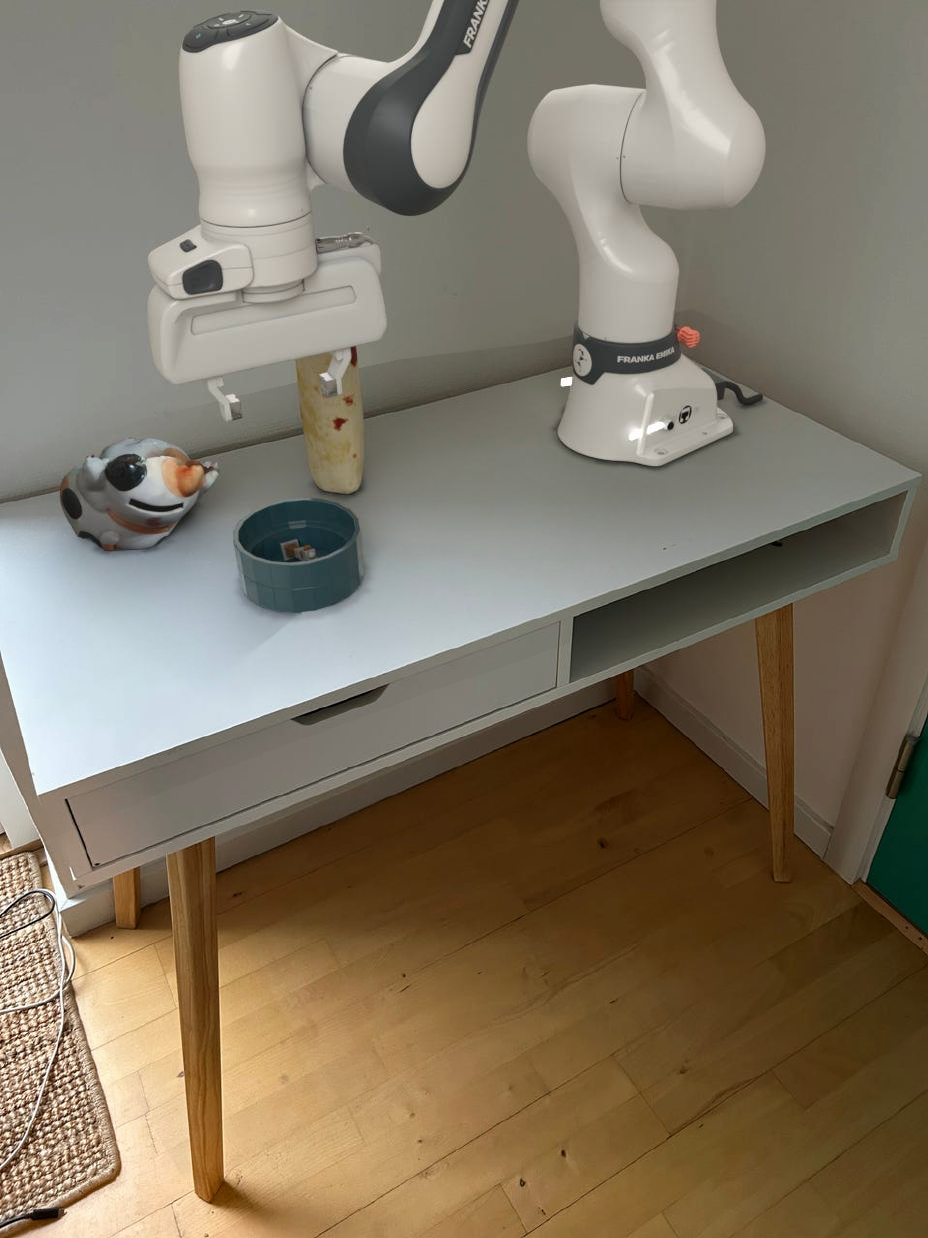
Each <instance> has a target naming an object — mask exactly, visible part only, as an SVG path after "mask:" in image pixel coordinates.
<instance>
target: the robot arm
mask: <svg viewBox="0 0 928 1238" xmlns="http://www.w3.org/2000/svg"><path fill="white" fill-rule="evenodd" d="M519 3H520V0H432V1H431V5H430V8H429V10H428V13H427V15H426V19H425V21H424V24H423V27H422V30H421V32H420V35H419V37H418V39H417V41H416V43H415V45H414V46H413V47H412V48H411V49H410V51H408V52H407V53H406V54H404V55H403V56H401V57H400V58H398V59H396V60H394V61H393V60H392V61H391V62H385V61H380V60H375V59H370V58H366V57H363V56H360V55H355V54H349V53H345V52H342V51H339V50H337V49H333V48H332V47H331V48H330V47H328V46H326V45H322V44H321V43H318V42H315V41H313V40H311V39H309V38H308V37H305V36H304V35H302V34H301V33H299V32H297V31H295V30H294V29H293V28H291V27H290V26H288V25H287V24H286V23H285V22H284V21H283V20H282V18H281V17H280V16H279V15H278V14H277V13H275V12H272V11H267V10H265V9H243V10H239V11H233V12H231V11H229V12H224V13H221V14H218V15H215V16H212V17H209V18H206V19H205V20H202V21H201V22H199V23H197V24H196V25H194V26H193V27H192V28H191V30H190V31H188V32H187V33H186V34H185V36H184V37H183V38H182V42H181V45H180V49H179V56H178V57H179V58H178V85H179V96H180V98H179V99H180V106H181V114H182V122H183V129H184V134H185V140H186V146H187V152H188V158H189V160H190V162H191V164H192V166H193V169H194V171H195V174H196V177H197V181H198V186H199V197H198V207H197V208H198V216H199V223H200V224H198V225H196V226H195V227H193V228H192V229H190V230H188V231H185V232H184V233H183V234H181V235H179V236H177V237H174V239H171V240H170V241H168V242H165V243H164V244H162V245H160V246H158V247H156V248H154V249H153V250H151V251H150V253H148V255H147V265H148V269H149V272H150V274H151V277H152V279H153V280H154V281H155V283H156V284H155V285H154V286H153V287H152V289H151V291H150V293H149V295H148V299H147V308H146V309H147V325H148V326H147V327H148V338H149V343H150V350H151V355H152V360H153V364H154V366H155V368H156V371H158V373H159V375H161V377H163V378H164V379H165V380H166V381H168V383H170V384H172V385H174V386H180V385H184V384H189V383H194V382H199V381H201V382H202V383H203V385H204V386H205V387H206V388H207V390H208V391H209V392H210V393H211V395H213V397H214V398H215V399H216V400H217V401H218V407H219V412H220V415H221V417H222V419H223V420H224V422H226V423H229V422H233V421H236V420H241V419H243V412H242V411H241V410H242V404H241V401H240V399H239V398H238V397H237V395H236V394H235V393H230V394H225V393H224V392H223V391H222V390H221V389H220V388H222V387H224V386H225V383H224V376H226V375H230V374H235V373H239V372H243V371H244V372H245V371H249V370H253V369H257V368H262V367H266V366H271V365H276V364H280V363H285V362H290V361H295V359H299V358H304V357H308V356H313V355H317V354H322V353H327V352H329V353H330V354H331V355H332V356H333V357H332V360H331V363H330V365H329V368H328V371H327V372H326V373H322V374H319V379H320V382H321V385H320V388H321V392H322V394H323V395H325V397H326V398H330V397H334V396H338V395H342V393H343V391H342V381H341V378H342V377H343V375H344V373H345V371H346V369H347V367H348V364H349V362H350V360H351V347H354V346H356V347H359V346H362V345H367V344H371V343H377V342H380V341H381V340H382V339H383V338H384V335H385V333H386V332H387V330H388V317H387V310H386V305H385V299H384V294H383V290H382V286H381V282H380V276H381V273H382V256H381V249H380V247H379V244H378V243H377V241H376V240H375V239H373V238H372V237H370V236H366V235H364V234H363V233H362V232H360V231H353V232H348V233H346V234H343V235H332V236H323V237H317V238H316V235H315V225H314V216H313V207H312V197H311V196H312V195H311V194H312V191H313V190H314V189H315V188H316V187H320V186H324V185H328V186H330V187H332V188H335V189H338V190H341V191H344V192H347V193H350V194H352V195H356V196H360V197H362V198H364V199H366V200H368V201H369V202H372V203H373V204H376V205H378V206H380V207H381V208H383V209H386V210H388V211H390V212H392V213H394V214H396V215H400V216H402V217H403V216H405V217H416V216H417V217H418V216H422V215H424V214H427V213H430V212H432V211H433V210H435V209H437V208H438V207H440V206H441V205H442V204H443V203H445V202H446V201H447V200H448V199H449V198H450V197H451V196H452V195H453V193H454V192H455V191H456V190H457V189H458V187H459V185H460V184H461V183H462V182H463V179H464V178H465V176H466V174H467V172H468V170H469V167H470V165H471V160H472V157H473V154H474V150H475V144H476V139H477V134H478V127H479V121H480V117H481V113H482V109H483V106H484V101H485V99H486V95H487V92H488V89H489V86H490V83H491V81H492V78H493V75H494V72H495V69H496V66H497V64H498V61H499V58H500V55H501V53H502V50H503V48H504V45H505V42H506V39H507V36H508V33H509V30H510V27H511V24H512V22H513V20H514V17H515V14H516V11H517V9H518V6H519ZM599 10H600V14H601V18H602V21H603V23H604V25H605V27H606V29H607V31H608V32H609V33H610V35H611V36H612V37H613V38H614V39H615V40H616V41H618V42H619V43H620V44H621V45H623V46H624V47H626V48H627V49H628V50H630V51H631V52H632V53H633V54H634V55H635V57H636V58H637V60H638V62H639V64H640V65H641V69H642V71H643V75H644V80H645V88H640V87H630V86H629V87H628V86H617V85H607V84H596V83H590V84H583V85H575V86H569V87H563V88H558V89H553V90H551V91H549V92H548V93H547V94H546V95H545V96H544V97H543V98H542V99H541V101H540V102H539V104H538V105H537V106H536V108H535V110H534V112H533V113H532V115H531V118H530V122H529V125H528V129H527V135H526V138H527V139H526V150H527V156H528V160H529V164H530V167H531V169H532V171H533V173H534V175H535V177H536V179H538V181H540V182H541V183H542V184H543V185H544V187H546V189H547V190H548V191H549V192H550V194H551V195H552V196H553V197H554V199H556V201H557V203H558V205H559V206H560V207H561V209H562V212H563V213H564V215H565V218H566V219H567V222H568V223H569V226H570V229H571V232H572V234H573V238H574V241H575V245H576V250H577V255H578V267H579V270H578V271H579V273H578V275H579V288H578V289H579V290H578V291H579V292H578V294H579V297H578V314H577V315H578V316H577V320H576V321H575V322H574V326H573V335H572V336H573V337H572V346H571V364H572V376H570V377H564V378H561V379H560V386H561V387H566V386H569V391H568V396H567V400H566V404H565V407H564V410H563V414H562V417H561V420H560V422H559V425H558V428H557V436H558V438H559V440H560V441H561V442H562V444H564V445H565V446H566V447H567V448H569V449H570V450H572V451H574V452H576V453H578V454H581V455H582V456H583V455H584V456H587V457H590V458H594V459H598V460H604V461H612V462H613V461H614V462H629V463H636V464H640V465H644V466H649V467H661V466H664V465H666V464H668V463H670V462H672V461H675V460H677V459H679V458H681V457H683V456H686V455H688V454H689V453H692V452H694V451H696V450H698V449H701V448H703V447H704V446H707V445H710V444H711V443H714V442H716V441H717V440H720V439H722V438H725V437H727V436H728V435H731V434H732V433H733V432H734V423H733V420H732V419H731V417H730V416H729V415H728V414H727V413H726V412H725V411H724V410H723V409H721V408H720V407H719V406H718V401H722V400H724V399H725V398H724V397H725V393H726V392H725V391H726V389H728V390H730V391H732V392H733V393H734V394H735V397H736V399H737V401H738V402H739V403H740V404H742V405H745V406H746V405H752V404H755V403H757V402H760V401H762V400H763V399H764V395H763V394H762V393H757V394H754V395H751V396H749V397H745V396H744V394H743V391H742V389H741V387H740V386H739V385H738V384H737V383H735V382H731V381H730V380H725V379H723V378H721V377H720V376H718V375H717V374H715V373H713V372H711V371H710V370H709V369H707V368H705V367H703V368H701V367H699V366H698V365H697V364H696V363H694V362H693V361H692V360H690V358H689V357H687V356H686V355H684V354H683V353H682V350H681V346H680V343H681V344H684V345H685V346H686V347H688V348H690V349H691V348H694V347H696V346H697V345H698V343H699V342H700V340H701V334H700V333H699V331H698V330H695V329H691V327H689V326H683V327H682V328H680V327H679V325H678V324H677V323H675V322H674V317H675V309H676V301H677V292H678V285H679V277H680V267H679V262H678V259H677V256H676V254H675V251H674V250H673V248H672V247H671V246H670V245H669V244H668V243H667V242H666V241H665V240H663V239H662V238H661V237H659V236H658V234H656V233H655V232H654V231H653V230H652V229H651V228H650V227H649V225H648V224H647V222H646V221H645V219H644V216H643V214H642V211H641V208H640V205H643V206H650V207H656V208H664V209H671V210H676V211H677V210H679V211H683V212H684V211H685V212H699V211H700V212H701V211H716V210H724V209H732V208H734V207H736V206H737V205H738V204H740V202H742V201H743V199H746V197H747V195H748V194H749V193H750V192H751V190H752V189H753V188H754V186H755V185H756V183H757V181H758V179H759V177H760V175H761V173H762V170H763V168H764V163H765V157H766V150H767V149H766V148H767V146H766V145H767V144H766V143H767V142H766V135H765V130H764V127H763V126H764V125H763V124H762V121H761V119H760V117H759V115H758V113H757V112H756V111H755V109H754V108H753V107H752V106H751V105H750V104H749V103H748V101H747V100H746V99H745V98H744V97H743V96H742V95H741V93H740V91H738V89H737V87H736V86H735V84H734V82H733V80H732V79H731V76H730V75H729V72H728V69H727V67H726V65H725V62H724V59H723V56H722V51H721V49H720V43H719V37H718V29H717V0H599Z"/></svg>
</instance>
